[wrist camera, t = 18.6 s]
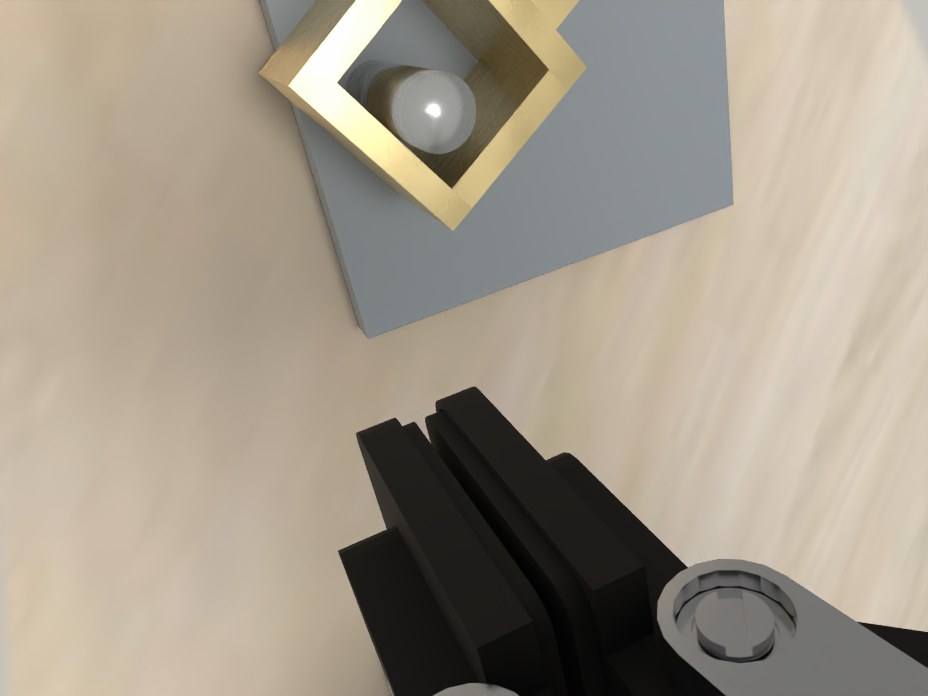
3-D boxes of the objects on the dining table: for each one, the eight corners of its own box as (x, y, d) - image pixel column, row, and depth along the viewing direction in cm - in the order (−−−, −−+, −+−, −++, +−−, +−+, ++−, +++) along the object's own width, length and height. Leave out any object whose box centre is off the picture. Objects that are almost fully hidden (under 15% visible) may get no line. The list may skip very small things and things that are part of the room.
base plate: (713, 198, 39) (733, 204, 38) (359, 326, 34) (368, 338, 33) (682, -310, 30) (707, -325, 28) (188, -229, 25) (192, -243, 24)
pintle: (401, 112, 32) (483, 141, 24) (345, 129, 31) (412, 163, 24) (386, 51, 30) (467, 62, 23) (328, 67, 30) (392, 83, 23)
